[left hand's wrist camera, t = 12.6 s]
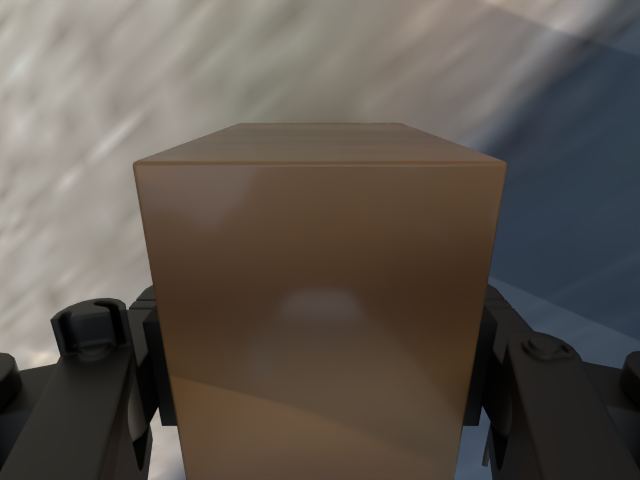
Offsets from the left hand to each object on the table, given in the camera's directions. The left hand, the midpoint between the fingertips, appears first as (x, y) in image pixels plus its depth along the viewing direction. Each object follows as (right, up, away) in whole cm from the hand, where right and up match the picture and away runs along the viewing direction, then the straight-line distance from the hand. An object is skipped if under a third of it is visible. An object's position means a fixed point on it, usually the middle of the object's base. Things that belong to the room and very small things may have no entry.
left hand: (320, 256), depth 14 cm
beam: (0, -31, +13) cm, 34 cm away
